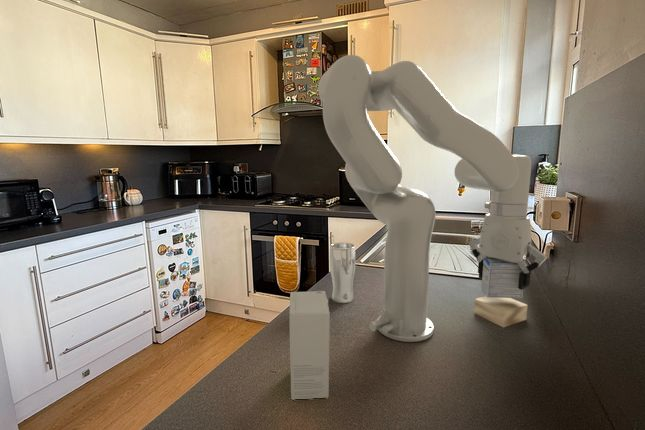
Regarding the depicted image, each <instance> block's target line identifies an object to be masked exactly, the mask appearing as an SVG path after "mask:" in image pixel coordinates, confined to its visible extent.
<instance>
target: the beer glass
mask: <svg viewBox="0 0 645 430" xmlns="http://www.w3.org/2000/svg"><path fill="white" fill-rule="evenodd" d="M329 246H330V247H329V270H330V276H331V281H332V294H331V300H332V302H334V303H337V304H349V303H351V302H353V301H354V299H355V297H354V290H353V283H354V277H355V271H356V246H355V244H354V243H351V242H345V241H344V242H335V243H332V244H330V245H329Z"/></svg>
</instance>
